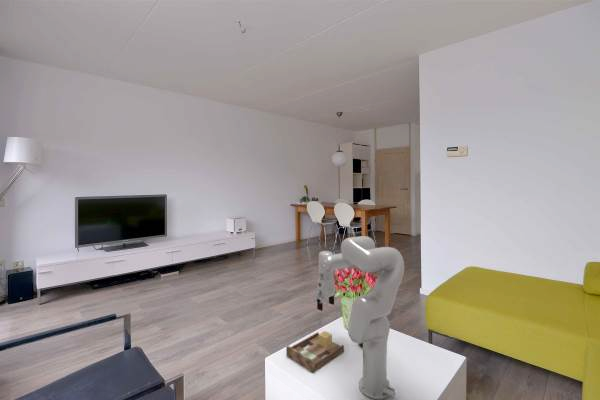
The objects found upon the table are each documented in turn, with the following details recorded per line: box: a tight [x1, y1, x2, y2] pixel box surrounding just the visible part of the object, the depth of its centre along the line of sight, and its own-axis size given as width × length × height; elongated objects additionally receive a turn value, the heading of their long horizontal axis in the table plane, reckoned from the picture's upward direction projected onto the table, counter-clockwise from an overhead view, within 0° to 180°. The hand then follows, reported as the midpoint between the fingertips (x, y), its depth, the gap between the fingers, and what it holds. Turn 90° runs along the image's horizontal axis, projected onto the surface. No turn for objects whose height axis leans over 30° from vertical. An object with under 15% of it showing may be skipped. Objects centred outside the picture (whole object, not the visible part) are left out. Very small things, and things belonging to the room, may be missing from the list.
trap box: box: [285, 331, 345, 374], centre depth 140 cm, size 18×23×5 cm
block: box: [318, 330, 333, 348], centre depth 145 cm, size 5×5×5 cm
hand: (325, 306), depth 148 cm, fingers open, 9 cm apart
